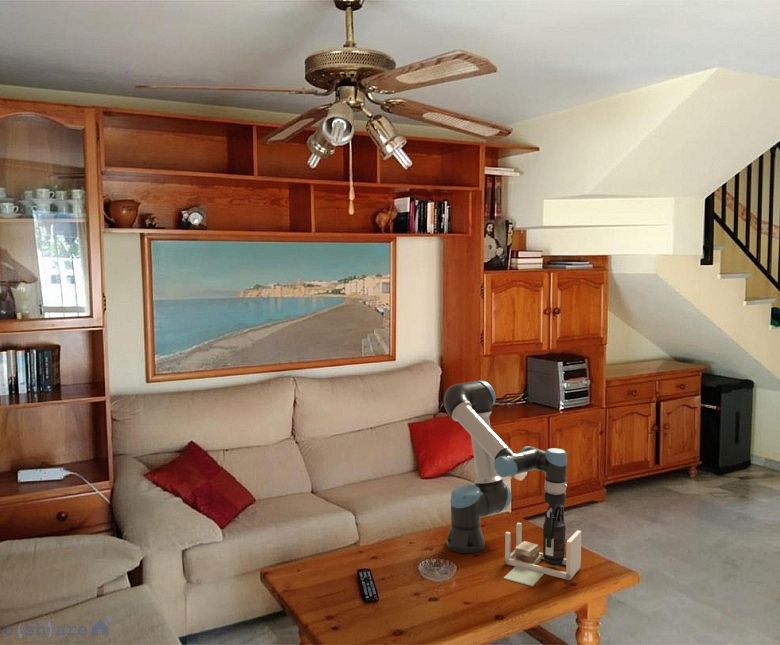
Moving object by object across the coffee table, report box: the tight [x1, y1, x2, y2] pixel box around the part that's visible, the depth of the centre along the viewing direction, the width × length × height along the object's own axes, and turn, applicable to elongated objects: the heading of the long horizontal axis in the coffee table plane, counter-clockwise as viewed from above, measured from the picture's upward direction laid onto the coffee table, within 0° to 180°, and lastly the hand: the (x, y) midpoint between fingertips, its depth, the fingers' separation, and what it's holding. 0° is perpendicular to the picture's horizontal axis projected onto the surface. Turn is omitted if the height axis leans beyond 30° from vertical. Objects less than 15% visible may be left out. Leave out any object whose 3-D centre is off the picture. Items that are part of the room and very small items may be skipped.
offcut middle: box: [516, 549, 540, 563], centre depth 264 cm, size 7×7×2 cm
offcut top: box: [514, 540, 540, 557], centre depth 264 cm, size 6×8×2 cm
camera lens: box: [542, 520, 567, 567], centre depth 258 cm, size 8×8×15 cm
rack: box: [504, 522, 582, 581], centre depth 260 cm, size 25×12×14 cm, turn 57°
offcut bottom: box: [514, 555, 542, 565], centre depth 264 cm, size 8×8×2 cm
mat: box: [503, 566, 545, 587], centre depth 252 cm, size 11×11×1 cm
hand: (553, 550), depth 258 cm, fingers closed on camera lens, 8 cm apart
